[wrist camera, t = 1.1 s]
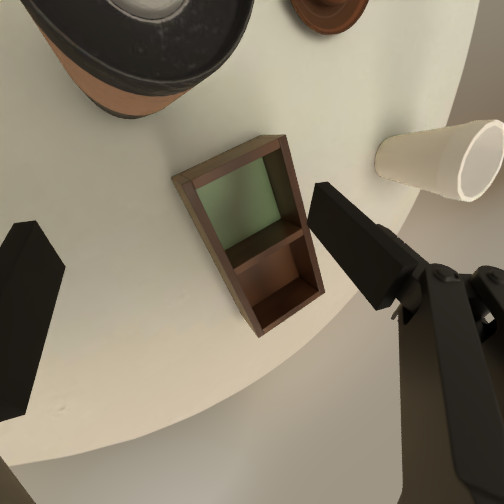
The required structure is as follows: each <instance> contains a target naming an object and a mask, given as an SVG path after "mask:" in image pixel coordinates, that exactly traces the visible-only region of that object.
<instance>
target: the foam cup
mask: <svg viewBox="0 0 504 504" xmlns="http://www.w3.org/2000/svg"><path fill="white" fill-rule="evenodd" d="M503 158H504V123H502V122H500V121H499V120H479V121H472V122H469V123H467V124H462V125H456V126H450V127H444V128H438V129H432V130H426V131H420V132H414V133H408V134H402V135H396V136H392V137H389V138H387V139H385V140H384V142H383V143H382V144H381V145H380V147H379V149H378V151H377V153H376V157H375V169H376V172H377V173H378V175H379V176H380V177H383V178H386V179H390V180H393V181H396V182H399V183H403V184H406V185H409V186H413V187H416V188H419V189H422V190H426V191H429V192H433V193H436V194H439V195H442V197H444V198H449V199H455V200H461V201H466V202H472V201H473V200H475V199H477V198H479V197H480V196H481V195H482V194H483V193H484V192H485V191H486V190H487V189H488V188H489V186H490V185H491V184H492V182H493V180H494V178H495V177H496V175H497V173H498V171H499V170H500V167H501V164H502V161H503Z"/></svg>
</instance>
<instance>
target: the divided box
mask: <svg viewBox="0 0 504 504" xmlns="http://www.w3.org/2000/svg"><path fill="white" fill-rule="evenodd" d="M171 179H172V181H173V183H174V185H175V187H176V189H177V191H178V193H179V195H180V197H181V199H182V201H183V202H184V204H185V206H186V208H187V210H188V212H189V214H190V216H191V218H192V220H193V222H194V224H195V226H196V227H197V229H198V231H199V233H200V235H201V237H202V239H203V241H204V243H205V245H206V247H207V249H208V251H209V253H210V254H211V256H212V258H213V260H214V262H215V264H216V266H217V268H218V270H219V272H220V274H221V276H222V278H223V279H224V281H225V283H226V285H227V287H228V289H229V291H230V293H231V295H232V297H233V299H234V301H235V303H236V305H237V306H238V308H239V310H240V312H241V314H242V316H243V317H244V319H245V320H246V321H247V323H248V324H249V326H250V327H251V328H252V330H253V331H254V332H255V334H256V335H257V337H258V338H260V337H261V336H263V335H264V334H266V333H267V332H268V331H270V330H271V329H273V328H274V327H276V326H277V325H279V324H280V323H282V322H283V321H284V320H286V319H287V318H289V317H290V316H292V315H293V314H295V313H296V312H297V311H299V310H300V309H302V308H303V307H305V306H306V305H308V304H309V303H311V302H312V301H313V300H315V299H316V298H318V297H319V296H321V295H322V294H324V293H325V289H324V285H323V281H322V277H321V273H320V269H319V265H318V261H317V257H316V253H315V249H314V245H313V241H312V237H311V233H310V229H309V227H308V226H307V217H306V213H305V209H304V205H303V201H302V197H301V193H300V189H299V185H298V181H297V177H296V173H295V169H294V165H293V161H292V157H291V153H290V149H289V145H288V141H287V137H286V135H260V136H258V137H256V138H254V139H252V140H249V141H247V142H245V143H243V144H241V145H239V146H237V147H235V148H232V149H230V150H228V151H226V152H224V153H222V154H220V155H218V156H215V157H213V158H211V159H209V160H207V161H205V162H203V163H201V164H198V165H196V166H194V167H192V168H190V169H188V170H186V171H184V172H181V173H179V174H177V175H175V176H173V177H171Z"/></svg>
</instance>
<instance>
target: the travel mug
mask: <svg viewBox="0 0 504 504" xmlns="http://www.w3.org/2000/svg"><path fill="white" fill-rule="evenodd" d="M21 2H22V3H23V5H24V6H25V8H26V9H27V11H28V13H29V14H30V16H31V17H32V19H33V20H34V22H35V23H36V25H37V26H38V28H39V30H40V31H41V33H42V34H43V36H44V37H45V39H46V40H47V42H48V43H49V45H50V46H51V48H52V50H53V51H54V53H55V54H56V56H57V57H58V59H59V60H60V62H61V63H62V65H63V67H64V68H65V70H66V71H67V72H68V74H69V75H70V77H71V78H72V79H73V81H74V82H75V83H76V84H77V85H78V86H79V88H80V89H81V90H82V91H83V92H84V93H85V94H86V95H87V96H88V97H89V98H90V99H91V100H92V101H93V102H94V103H95V104H96V105H97V106H98V107H100V108H101V109H102V110H104V111H106V112H107V113H109V114H111V115H113V116H116V117H119V118H124V119H137V118H142V117H144V116H147V115H150V114H153V113H156V112H158V111H160V110H162V109H164V108H165V107H166V106H168V105H169V104H171V103H172V102H173V101H175V100H176V99H178V98H179V97H180V96H182V95H183V94H185V93H186V92H187V91H189V90H190V89H192V88H193V87H194V86H196V85H197V84H199V83H200V82H201V81H203V80H204V79H206V78H207V77H208V76H210V75H211V74H212V73H214V72H215V71H216V70H218V69H219V68H220V67H221V66H222V65H223V64H224V62H225V61H226V60H227V59H228V58H229V57H230V56H231V54H232V53H233V51H234V50H235V49H236V47H237V46H238V44H239V42H240V40H241V38H242V36H243V34H244V32H245V30H246V27H247V25H248V22H249V19H250V16H251V12H252V8H253V4H254V0H21Z"/></svg>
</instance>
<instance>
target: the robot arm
mask: <svg viewBox="0 0 504 504" xmlns="http://www.w3.org/2000/svg"><path fill="white" fill-rule="evenodd" d="M307 226H308V227H309V228H310V229H311V231H312V232H313V233H314V234H315V236H316V237H317V238H318V239H319V241H320V242H321V243H322V244H323V246H324V247H325V248H326V249H327V251H328V252H329V253H330V254H331V255H332V257H333V258H334V259H335V260H336V262H337V263H338V264H339V265H340V267H341V268H342V269H343V270H344V272H345V273H346V274H347V275H348V277H349V278H350V279H351V280H352V282H353V283H354V284H355V285H356V287H357V288H358V289H359V290H360V291H361V293H362V294H363V295H364V296H365V298H366V299H367V300H368V301H369V303H370V304H371V305H372V306H373V308H374V309H375V310H376V311H377V310H380V309H384V308H387V307H390V306H391V305H392V303H393V301H394V300H395V298H397V299H398V300H399V301H400V305H399V306H398V308H397V309H396V311H395V312H394V313H393V315H392V317H391V319H393V320H394V319H395V317H396V316H397V315H398V323H399V324H398V325H399V361H400V398H401V433H402V471H403V488H402V494H401V496H400V498H399V501H398V503H397V504H504V270H502V269H499V268H496V267H492V266H481V267H479V268H478V269H477V270H476V271H475V272H474V273H473V274H458V273H457V272H456V271H455V270H453V269H451V268H450V267H448V266H445V265H442V264H436V263H434V264H429V263H428V262H427V261H426V260H424V259H423V258H422V257H421V256H420V255H419V254H417V253H416V252H415V251H414V250H413V249H412V248H410V247H409V246H408V245H407V244H406V243H404V242H403V241H402V240H401V239H400V238H397V236H396V235H395V234H394V233H393V232H392V231H391V230H389V229H388V228H386V227H384V226H382V225H380V224H375V223H374V222H373V221H372V220H370V219H369V218H368V217H367V216H366V215H365V214H364V213H363V212H361V211H360V210H359V209H358V208H357V207H356V206H355V205H353V204H352V203H351V202H350V201H349V200H348V199H347V198H346V197H344V196H343V195H342V194H341V193H340V192H339V191H338V190H336V189H335V188H334V187H333V186H332V185H331V184H330V183H329V182H321V183H315V187H314V192H313V196H312V201H311V205H310V210H309V214H308V219H307ZM64 271H65V265H64V264H63V262H62V260H61V259H60V257H59V256H58V254H57V253H56V251H55V250H54V248H53V246H52V245H51V243H50V242H49V240H48V239H47V237H46V236H45V234H44V232H43V231H42V229H41V228H40V226H39V225H38V223H37V221H36V220H35V221H27V222H19V223H14V224H13V226H12V227H11V229H10V231H9V233H8V234H7V236H6V238H5V240H4V241H3V243H2V245H1V247H0V422H1V421H5V420H8V419H12V418H15V417H18V416H22V415H25V413H26V409H27V406H28V402H29V398H30V395H31V391H32V387H33V384H34V380H35V376H36V373H37V369H38V366H39V362H40V358H41V355H42V351H43V347H44V344H45V340H46V336H47V333H48V329H49V325H50V322H51V318H52V315H53V311H54V307H55V304H56V300H57V296H58V293H59V289H60V285H61V282H62V278H63V274H64ZM490 312H491V314H492V315H493V317H494V318H495V319H494V320H493V321H491V322H490V323H488V322H487V321H486V320H485V318H484V317H485V316H486V315H487V314H488V313H490ZM0 504H36V503H35V502H34V501H33V499H32V498H31V497H30V495H29V494H28V493H27V491H26V490H25V489H24V487H23V486H22V485H21V483H20V482H19V481H18V479H17V478H16V477H15V475H14V474H13V473H12V471H11V470H10V469H9V467H8V466H7V465H6V463H5V462H4V461H3V459H2V458H1V457H0Z"/></svg>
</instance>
